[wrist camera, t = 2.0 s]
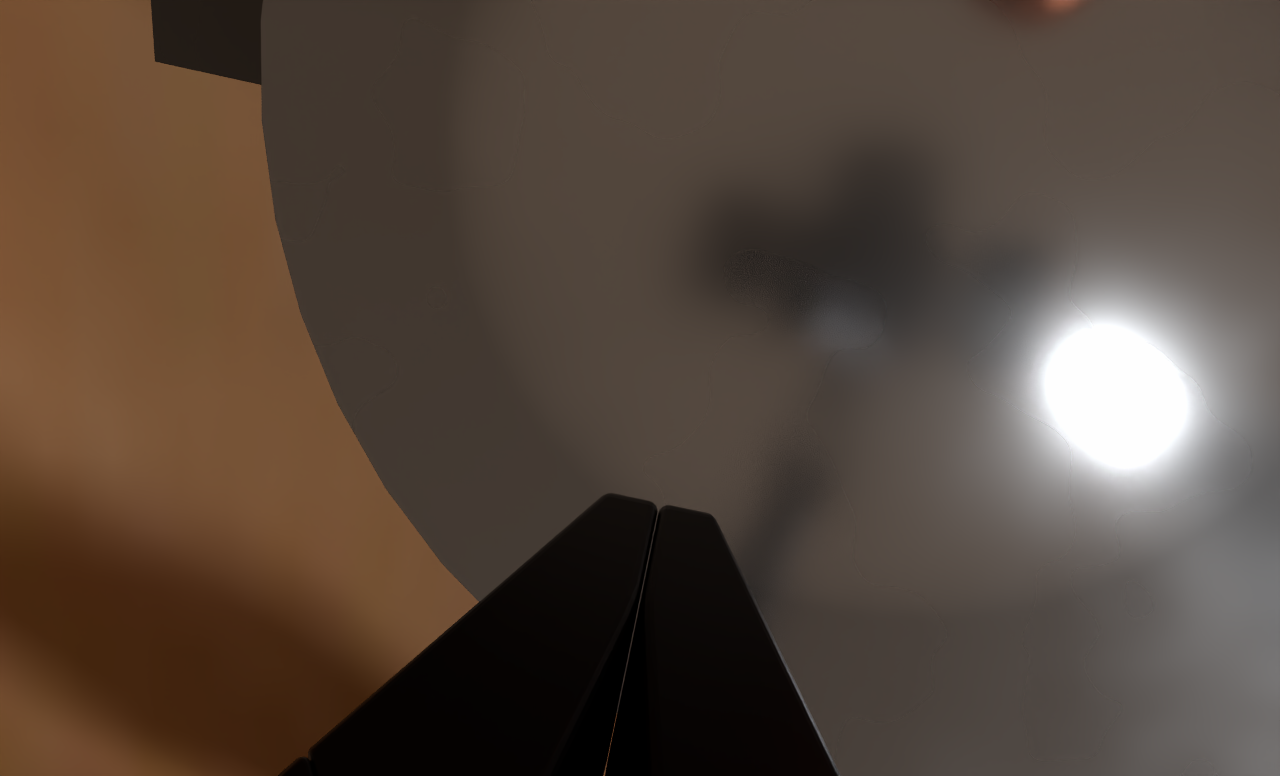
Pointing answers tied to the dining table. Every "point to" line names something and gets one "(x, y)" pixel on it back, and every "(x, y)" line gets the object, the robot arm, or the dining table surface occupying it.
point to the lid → (834, 333)
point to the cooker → (210, 36)
